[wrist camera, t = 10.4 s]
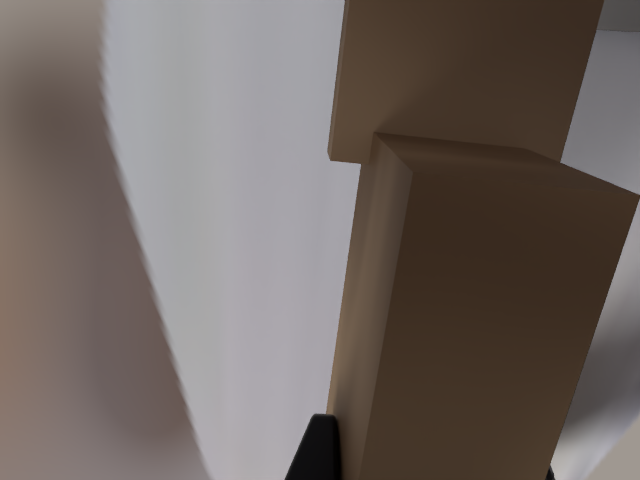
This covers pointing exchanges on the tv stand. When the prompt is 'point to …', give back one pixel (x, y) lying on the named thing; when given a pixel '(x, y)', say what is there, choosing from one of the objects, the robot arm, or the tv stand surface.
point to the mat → (620, 16)
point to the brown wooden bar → (465, 236)
